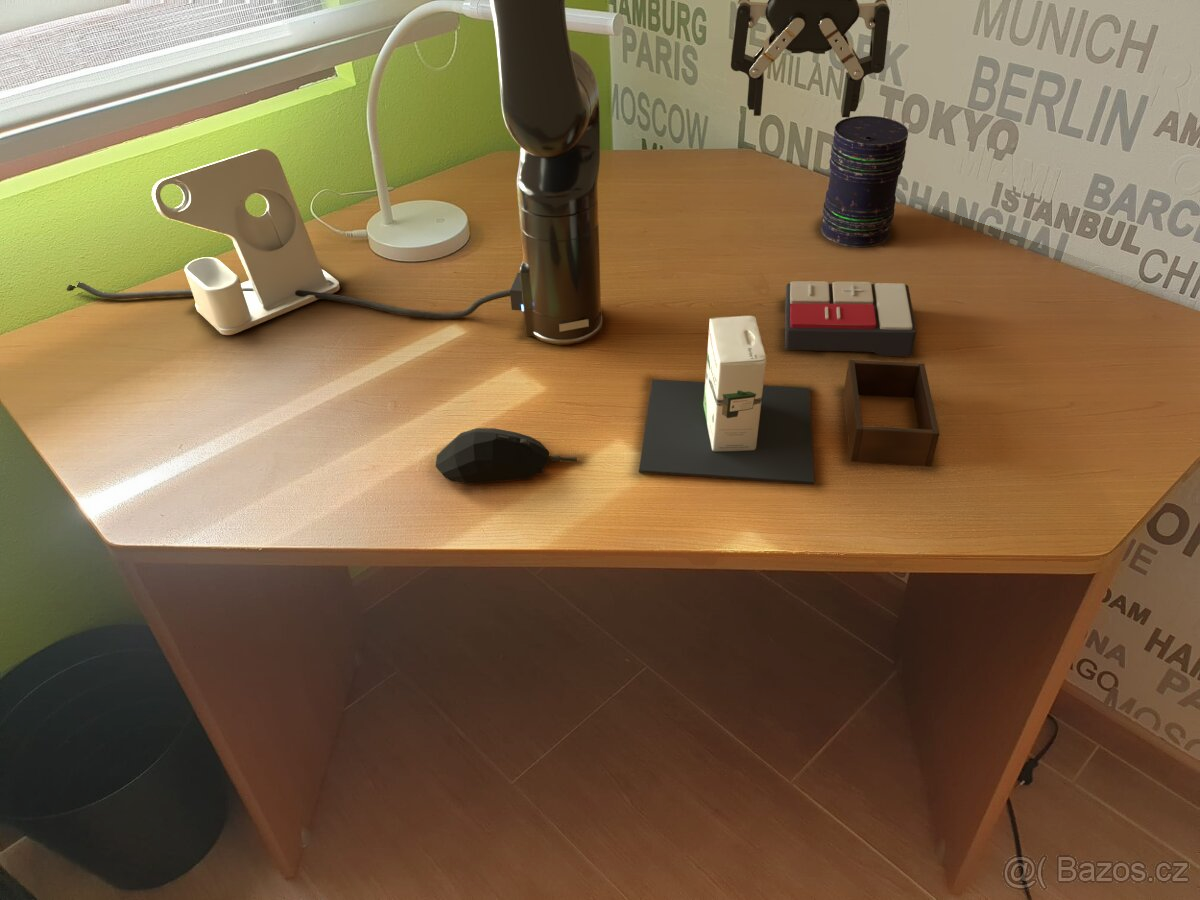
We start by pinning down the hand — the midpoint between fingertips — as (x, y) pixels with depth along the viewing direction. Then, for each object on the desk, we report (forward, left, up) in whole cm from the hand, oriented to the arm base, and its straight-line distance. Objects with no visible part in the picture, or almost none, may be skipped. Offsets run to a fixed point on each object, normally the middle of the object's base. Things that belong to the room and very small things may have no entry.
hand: (800, 113), depth 94 cm
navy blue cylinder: (+12, +34, -30) cm, 47 cm away
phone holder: (-67, +9, -30) cm, 74 cm away
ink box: (-5, -13, -30) cm, 33 cm away
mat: (-5, -13, -30) cm, 33 cm away
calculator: (+9, +8, -30) cm, 33 cm away
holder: (+12, -11, -30) cm, 34 cm away
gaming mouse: (-28, -21, -30) cm, 46 cm away
